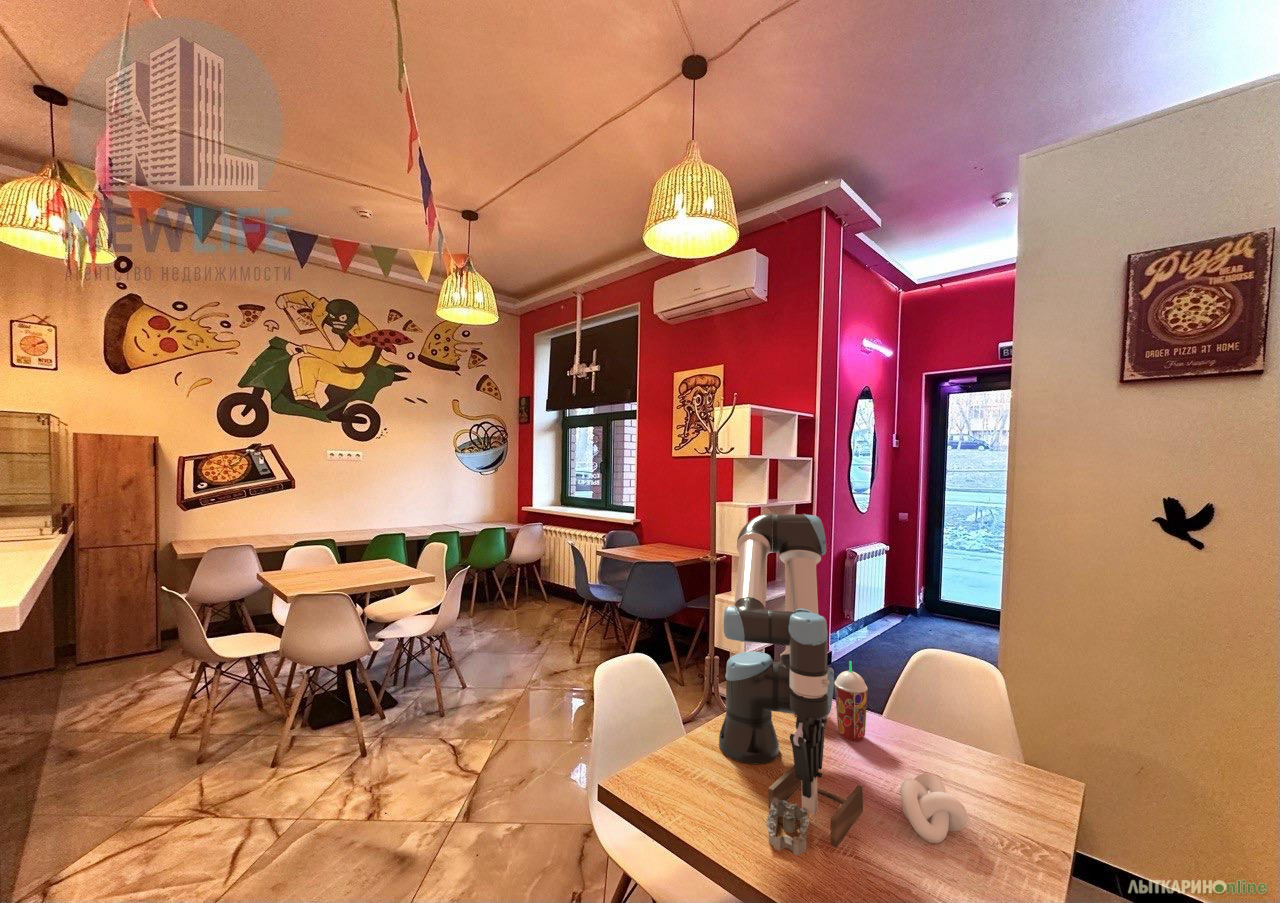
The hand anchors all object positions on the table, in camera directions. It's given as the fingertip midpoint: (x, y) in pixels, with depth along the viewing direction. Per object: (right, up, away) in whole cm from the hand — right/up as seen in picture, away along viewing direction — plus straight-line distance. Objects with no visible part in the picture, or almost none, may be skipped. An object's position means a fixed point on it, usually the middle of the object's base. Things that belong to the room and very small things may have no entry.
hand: (809, 810), depth 99 cm
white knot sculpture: (+23, -3, -1) cm, 24 cm away
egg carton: (-6, -2, -4) cm, 7 cm away
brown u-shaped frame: (+2, -2, +2) cm, 4 cm away
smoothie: (+23, -5, +33) cm, 41 cm away
